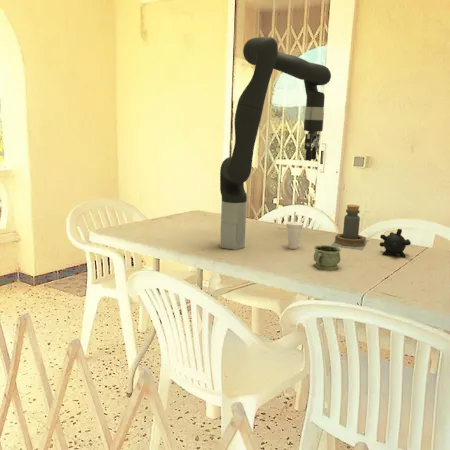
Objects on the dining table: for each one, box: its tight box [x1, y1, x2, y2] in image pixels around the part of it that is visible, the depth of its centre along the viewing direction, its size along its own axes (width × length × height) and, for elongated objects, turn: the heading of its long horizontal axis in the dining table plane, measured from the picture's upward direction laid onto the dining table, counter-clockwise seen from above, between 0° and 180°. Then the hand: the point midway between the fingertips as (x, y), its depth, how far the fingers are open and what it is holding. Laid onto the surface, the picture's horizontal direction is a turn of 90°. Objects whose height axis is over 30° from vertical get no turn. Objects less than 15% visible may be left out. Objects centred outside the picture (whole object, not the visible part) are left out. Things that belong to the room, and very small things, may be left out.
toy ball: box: [379, 228, 412, 259], centre depth 171 cm, size 11×11×12 cm
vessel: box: [313, 244, 342, 271], centre depth 155 cm, size 12×9×6 cm
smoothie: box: [285, 211, 304, 251], centre depth 176 cm, size 6×6×14 cm
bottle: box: [342, 204, 361, 240], centre depth 185 cm, size 6×6×15 cm
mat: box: [330, 239, 369, 251], centre depth 187 cm, size 18×12×1 cm, turn 156°
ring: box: [334, 233, 367, 247], centre depth 186 cm, size 11×11×2 cm
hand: (310, 159), depth 192 cm, fingers open, 8 cm apart
